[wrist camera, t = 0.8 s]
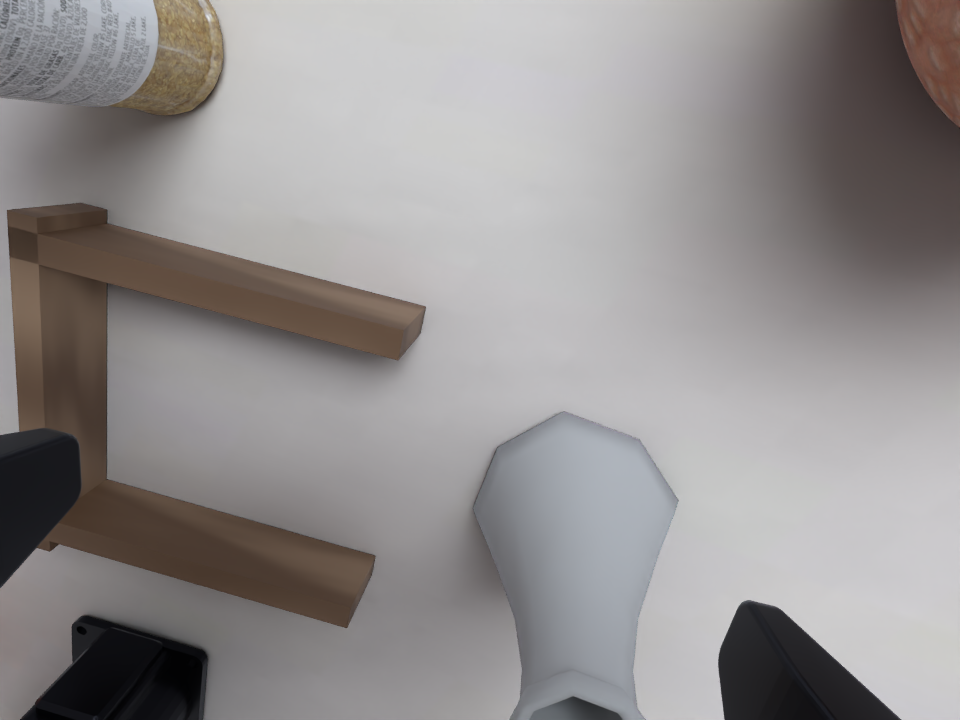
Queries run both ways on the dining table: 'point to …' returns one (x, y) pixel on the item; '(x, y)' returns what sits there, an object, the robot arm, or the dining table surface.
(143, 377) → the dining table surface
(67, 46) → the sprinkles bottle
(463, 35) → the dining table surface
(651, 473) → the flask
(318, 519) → the dining table surface
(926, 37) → the planter
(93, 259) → the bay
